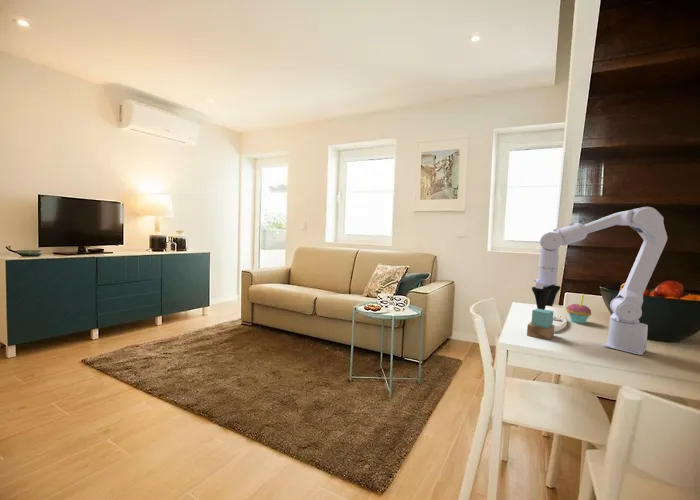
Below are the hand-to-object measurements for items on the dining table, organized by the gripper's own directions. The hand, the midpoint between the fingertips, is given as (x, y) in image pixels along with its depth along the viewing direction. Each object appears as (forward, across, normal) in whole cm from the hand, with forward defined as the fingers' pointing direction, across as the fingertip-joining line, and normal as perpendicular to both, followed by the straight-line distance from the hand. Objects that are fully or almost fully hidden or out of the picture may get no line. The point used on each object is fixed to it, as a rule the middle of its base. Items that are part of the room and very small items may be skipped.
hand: (544, 307), depth 119 cm
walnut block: (+10, 0, -1) cm, 10 cm away
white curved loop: (+10, -18, -3) cm, 21 cm away
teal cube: (+6, +1, 0) cm, 6 cm away
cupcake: (+10, -32, +3) cm, 33 cm away
